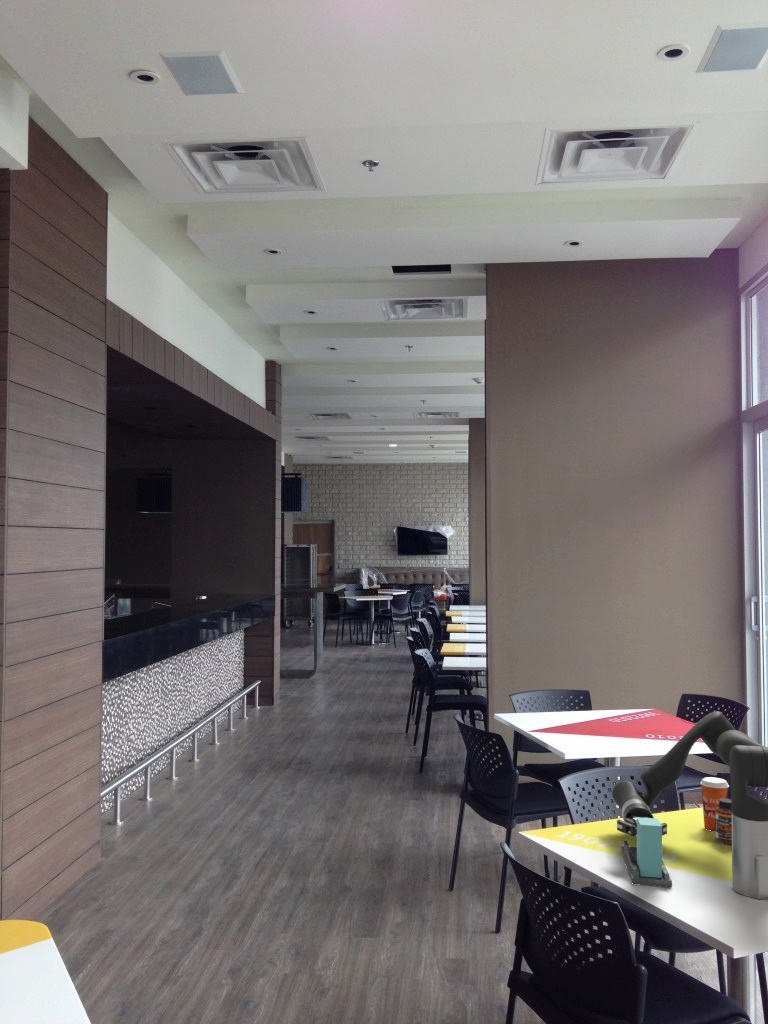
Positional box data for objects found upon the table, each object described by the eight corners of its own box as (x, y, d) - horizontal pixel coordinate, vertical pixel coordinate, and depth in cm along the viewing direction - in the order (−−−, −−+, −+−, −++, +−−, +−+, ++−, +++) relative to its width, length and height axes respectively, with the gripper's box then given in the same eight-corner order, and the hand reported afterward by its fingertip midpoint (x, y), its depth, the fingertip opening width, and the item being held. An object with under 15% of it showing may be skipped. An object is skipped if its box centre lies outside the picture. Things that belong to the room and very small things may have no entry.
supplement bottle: (715, 843, 225) (715, 801, 226) (714, 837, 231) (714, 796, 231) (739, 846, 223) (738, 804, 224) (738, 840, 229) (737, 798, 229)
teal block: (636, 867, 201) (636, 817, 202) (658, 869, 201) (658, 818, 201) (640, 876, 195) (640, 824, 196) (662, 878, 195) (662, 826, 195)
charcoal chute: (620, 851, 217) (620, 840, 217) (656, 854, 216) (656, 842, 216) (632, 884, 195) (632, 871, 195) (671, 887, 193) (671, 874, 193)
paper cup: (697, 829, 237) (697, 780, 238) (704, 823, 243) (704, 775, 244) (726, 835, 232) (725, 785, 233) (732, 828, 239) (731, 779, 240)
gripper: (663, 833, 217) (675, 855, 200) (611, 829, 219) (618, 851, 202) (663, 804, 218) (674, 824, 201) (611, 800, 220) (618, 820, 203)
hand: (646, 838), depth 202 cm, fingers closed
